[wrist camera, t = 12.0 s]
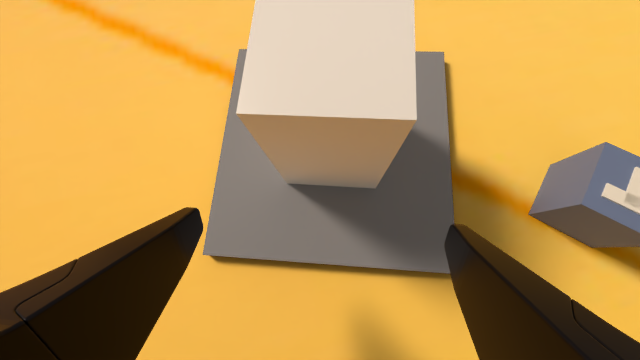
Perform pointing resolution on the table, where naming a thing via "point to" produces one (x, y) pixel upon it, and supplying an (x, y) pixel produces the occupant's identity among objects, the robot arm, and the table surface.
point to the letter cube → (593, 197)
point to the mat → (340, 197)
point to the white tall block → (330, 87)
